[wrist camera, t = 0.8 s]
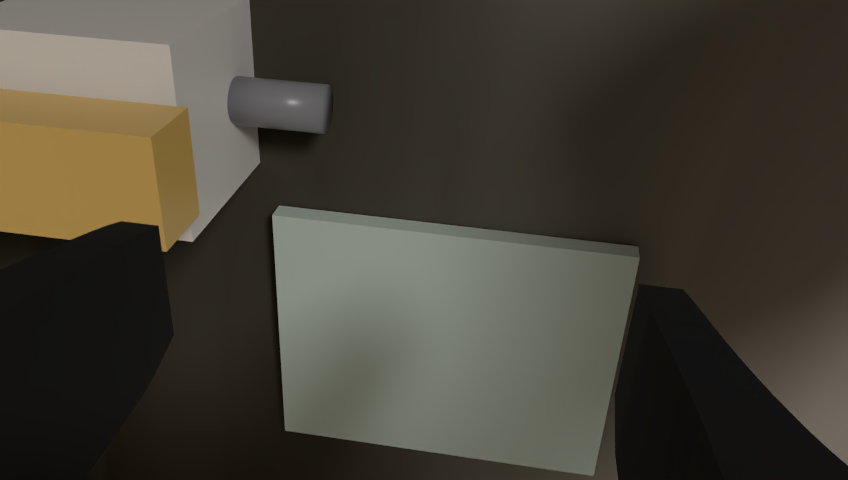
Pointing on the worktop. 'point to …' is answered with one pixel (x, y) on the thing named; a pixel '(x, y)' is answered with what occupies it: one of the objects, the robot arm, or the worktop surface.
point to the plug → (164, 75)
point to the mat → (449, 336)
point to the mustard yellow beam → (94, 165)
